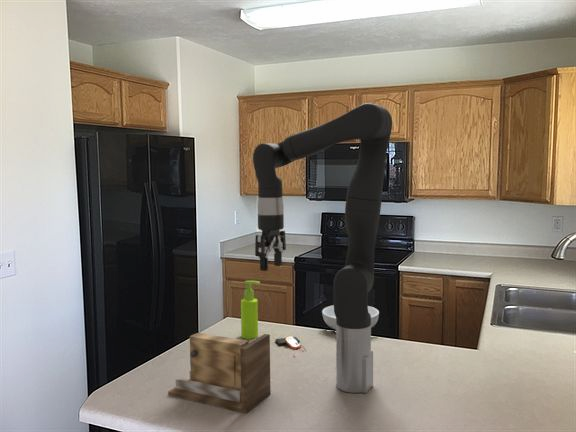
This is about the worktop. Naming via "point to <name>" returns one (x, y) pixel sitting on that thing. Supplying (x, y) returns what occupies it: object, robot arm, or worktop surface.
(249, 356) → the hinge base
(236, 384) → the oak door
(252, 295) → the soap dispenser
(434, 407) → the worktop surface
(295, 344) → the multimeter
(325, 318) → the serving bowl
